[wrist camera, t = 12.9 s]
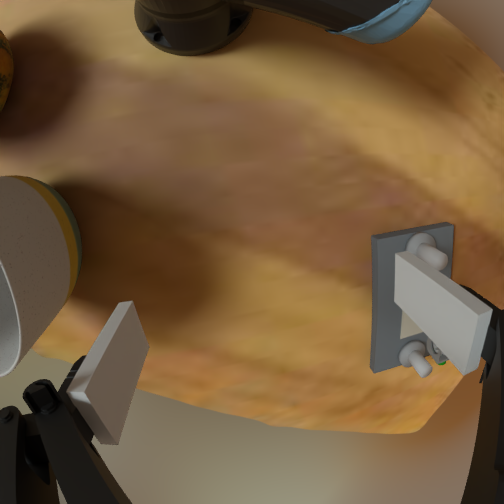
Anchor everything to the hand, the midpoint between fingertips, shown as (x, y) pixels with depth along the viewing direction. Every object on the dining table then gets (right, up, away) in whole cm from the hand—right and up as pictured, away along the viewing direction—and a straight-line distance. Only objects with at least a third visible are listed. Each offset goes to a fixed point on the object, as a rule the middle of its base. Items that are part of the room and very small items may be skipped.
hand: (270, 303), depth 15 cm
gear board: (+25, -5, +32) cm, 41 cm away
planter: (-31, +5, +24) cm, 40 cm away
